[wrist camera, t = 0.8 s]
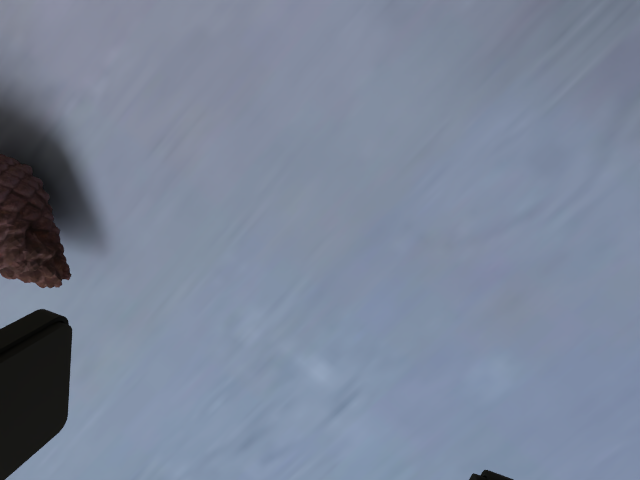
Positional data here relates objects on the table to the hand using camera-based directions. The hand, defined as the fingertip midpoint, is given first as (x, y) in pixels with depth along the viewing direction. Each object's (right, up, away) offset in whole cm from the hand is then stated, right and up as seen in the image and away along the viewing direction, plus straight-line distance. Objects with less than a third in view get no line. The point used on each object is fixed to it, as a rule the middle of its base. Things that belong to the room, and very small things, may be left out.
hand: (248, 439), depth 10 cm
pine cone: (-26, +8, +35) cm, 44 cm away
